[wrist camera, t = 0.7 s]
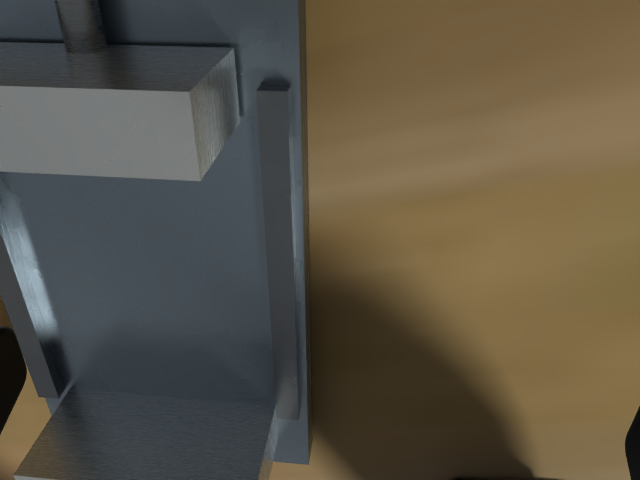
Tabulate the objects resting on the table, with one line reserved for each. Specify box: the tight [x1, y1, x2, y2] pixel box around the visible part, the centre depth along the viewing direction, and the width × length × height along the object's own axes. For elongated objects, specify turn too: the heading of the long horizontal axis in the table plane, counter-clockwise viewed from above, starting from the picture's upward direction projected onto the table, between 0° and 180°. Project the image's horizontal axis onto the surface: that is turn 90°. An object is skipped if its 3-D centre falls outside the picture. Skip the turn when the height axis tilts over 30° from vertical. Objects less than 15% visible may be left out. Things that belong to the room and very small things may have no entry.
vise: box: [0, 0, 312, 480], centre depth 22 cm, size 22×13×6 cm, turn 0°
